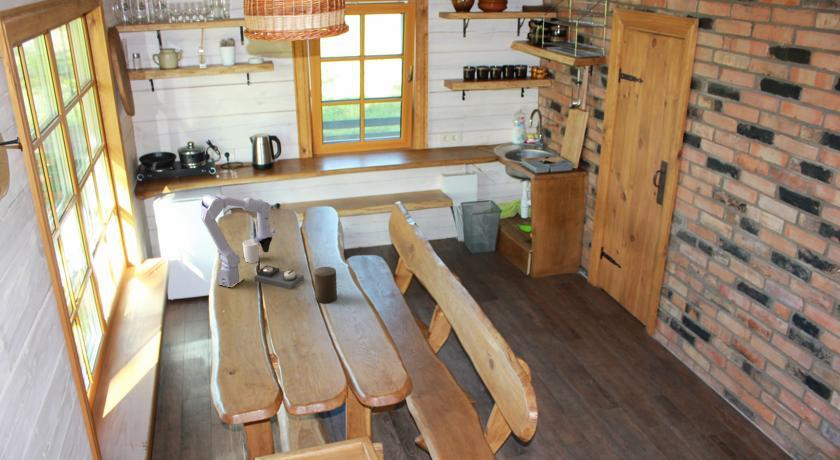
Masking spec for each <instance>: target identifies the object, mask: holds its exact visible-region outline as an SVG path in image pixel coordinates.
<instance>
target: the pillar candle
mask: <svg viewBox="0 0 840 460" xmlns="http://www.w3.org/2000/svg"><path fill="white" fill-rule="evenodd" d="M337 284H338V283H337V270H336V268H335V267H332V266H320V267H317V268H315V269H314V297H315V301H316V302H317V303H319V304H320V303H321V304H331V303H334V302H335V301H337V298H338V295H337V294H338V293H337V289H338V286H337Z"/></svg>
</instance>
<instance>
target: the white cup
mask: <svg viewBox="0 0 840 460" xmlns="http://www.w3.org/2000/svg"><path fill="white" fill-rule="evenodd" d="M242 250H243V256H244V261H246V262H249V263H248V264H256V263H258V262H259V261H260V243H254V238H253V239H252V238H251V239H245V240H244V241H242ZM246 262H245V263H246Z"/></svg>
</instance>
